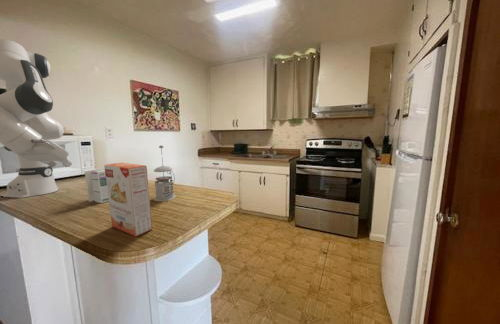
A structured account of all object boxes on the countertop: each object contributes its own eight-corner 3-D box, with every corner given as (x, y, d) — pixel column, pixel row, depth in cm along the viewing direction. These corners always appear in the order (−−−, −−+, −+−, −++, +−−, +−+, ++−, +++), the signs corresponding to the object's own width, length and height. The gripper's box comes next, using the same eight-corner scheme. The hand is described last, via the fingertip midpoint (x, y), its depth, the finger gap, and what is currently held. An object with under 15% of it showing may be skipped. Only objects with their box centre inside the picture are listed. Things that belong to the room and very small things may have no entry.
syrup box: (101, 203, 91) (97, 171, 89) (94, 201, 94) (90, 170, 92) (114, 199, 96) (111, 169, 94) (107, 198, 99) (104, 168, 97)
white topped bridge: (101, 203, 90) (98, 172, 88) (88, 200, 95) (84, 171, 93) (134, 194, 104) (131, 167, 102) (121, 192, 109) (118, 166, 107)
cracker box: (110, 227, 67) (102, 164, 64) (129, 220, 72) (123, 161, 69) (134, 238, 60) (127, 167, 57) (153, 229, 65) (147, 164, 62)
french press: (149, 200, 94) (144, 146, 91) (166, 193, 105) (162, 144, 102) (166, 202, 92) (162, 146, 88) (182, 194, 102) (179, 144, 99)
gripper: (50, 132, 69) (85, 159, 79) (16, 135, 76) (52, 159, 86) (34, 146, 65) (73, 172, 75) (0, 148, 72) (40, 171, 82)
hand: (61, 165), depth 81 cm, fingers open, 8 cm apart
